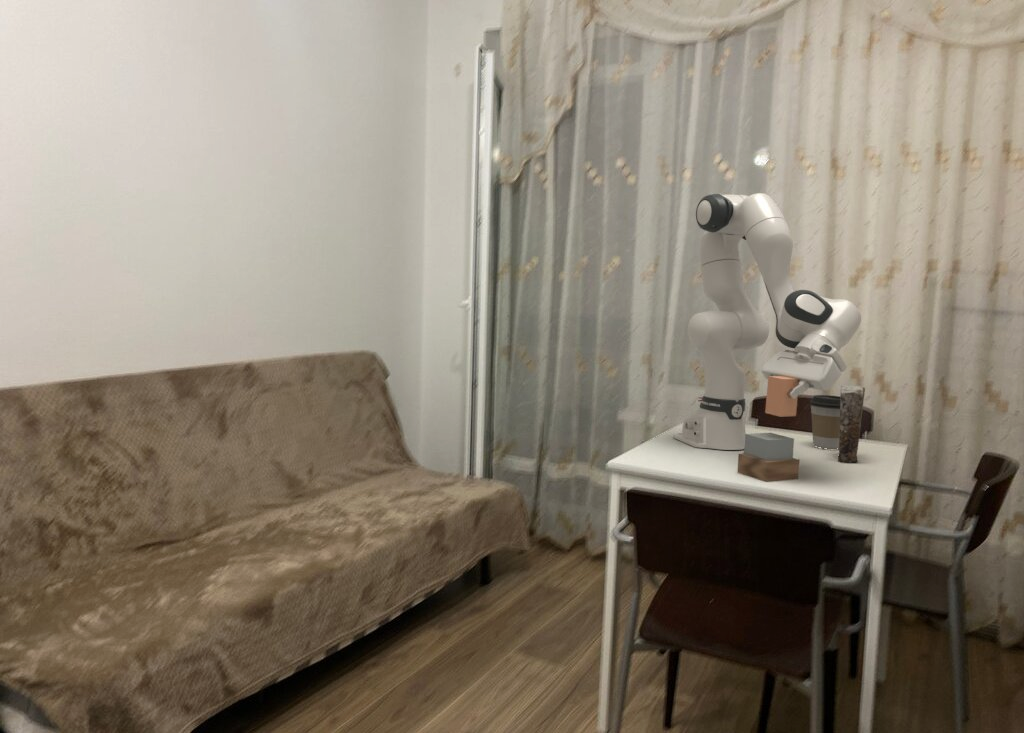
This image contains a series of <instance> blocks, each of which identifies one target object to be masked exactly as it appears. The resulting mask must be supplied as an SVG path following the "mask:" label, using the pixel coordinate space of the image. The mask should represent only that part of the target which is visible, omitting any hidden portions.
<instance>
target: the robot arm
mask: <svg viewBox="0 0 1024 733" xmlns="http://www.w3.org/2000/svg"><path fill="white" fill-rule="evenodd" d="M695 219H696V223H697V225H698V227H699V229H701V230H703V231H705V232H704V233H703V234H702V235H701V239H700V247H699V248H700V250H699V253H700V267H701V268H700V270H701V278H702V286H703V291H704V294H705V295H706V297H707V298H708V299H710V300H711V301H712V302H713V303H714V304H715V305H716V306H717V308H718V310H706V311H702V312H701V311H700V312H698V313H695V314H693V315H692V316H691V318H690V319H689V322H688V325H687V327H686V328H687V337H688V340H689V341H690V343H691V345H693V346H694V347H695V348H696V349H697V351H698V352H699V354H700V356H701V358H702V361H703V364H704V376H705V377H704V379H705V380H704V395H703V396H702V397H698V400H697V401H698V402H700V403H699V408H698V409H696V410H695V411H694V412H693V413H691V414H689V415H688V416H687V417H686V418H685V419H684V421H683V424H682V431H681V433H676V434H674V435H673V438H674V439H676V440H677V441H680V442H682V443H684V444H687V445H689V446H692V447H694V448H701V449H703V448H704V449H713V450H723V451H740V450H741V451H742V450H744V446H745V434H746V418H745V415H744V413H745V411H746V405H747V404H746V398H745V391H746V390H745V387H746V386H745V385H746V371H745V369H744V368H743V367H742V366H741V365H739V364H738V363H737V361H736V359H735V357H734V351H733V350H750V349H754V348H759V347H761V346H762V345H764V344H765V343H766V342H767V340H768V338H769V334H770V326H769V323H768V320H767V319H766V317H764V315H762V314H761V313H760V312H759V311H758V310H757V309H756V308H755V306H754V305H753V304H752V302H751V299H750V298H749V295H748V294H747V292H746V288H745V285H744V279H743V273H742V272H743V271H742V265H741V258H740V257H741V256H740V252H739V245H740V241H741V240H742V239H743V240H745V241H746V243H747V245H748V247H749V249H750V251H751V254H752V256H753V258H754V260H755V262H756V265H757V267H758V270H759V272H760V275H761V277H762V280H763V282H764V285H765V289H766V291H767V294H768V297H769V301H770V303H771V306H772V309H773V312H774V313H775V319H776V321H775V322H776V324H775V336H776V338H777V340H778V341H779V342H780V343H781V344H782V345H784V346H785V347H787V348H791V349H793V350H789V349H785V350H783V351H779V352H777V353H774V354H773V356H772V357H770V359H769V360H767V361H766V362H765V363H764V364H763V366H762V367H761V373H762V375H763V376H764V377H765V379H766V380H767V381H768V376H784V377H789V378H795V379H799V385H798V386H797V387H795V388H794V389H790V390H789V391H788V392H787V395H788V397H789V398H792V399H795V398H796V397H797V396H798V397H799V395H801V394H803V393H805V392H806V391H808V389H813V390H818V391H822V392H825V391H828V390H830V389H831V388H832V387H833V386H834V385H835V384H836V383H837V382H838V380H839V379H840V377H841V375H842V373H843V372H845V371H846V370H847V369H848V365H847V364H846V362H845V360H844V358H843V357H842V355H841V354H840V351H841V349H842V348H843V347H845V346H846V345H847V344H848V343H849V342H850V340H852V339H853V336H854V335H855V334H856V333H857V331H858V329H859V327H860V326H861V322H862V315H861V312H860V310H859V308H858V307H857V306H856V305H855V304H854V303H853V302H852V301H850V300H847V299H846V298H845V299H844V298H837V299H834V298H829V297H824V296H822V295H818V294H817V293H815V292H813V291H812V290H807V289H798V290H794V288H793V285H792V282H791V276H790V274H791V273H790V270H791V262H792V260H791V259H792V254H793V246H794V245H793V237H792V233H791V229H790V227H789V224H788V223H787V220H786V218H785V216H784V214H783V213H782V211H781V209H780V208H779V206H778V205H777V204H776V202H775V201H774V200H773V199H772V197H771V196H769V195H768V194H767V193H763V192H757V193H753V194H750V195H745V194H739V193H735V194H719V193H712V194H708V195H705V196H704V197H702V198H701V199H700V200H699V202H698V204H697V207H696V210H695Z"/></svg>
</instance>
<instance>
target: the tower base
mask: <svg viewBox="0 0 1024 733" xmlns="http://www.w3.org/2000/svg"><path fill="white" fill-rule="evenodd" d="M737 457H738V458H737V459H738V460H737V473H738V474H741V475H745V476H747V477H750V478H753V479H757V480H760V481H762V482H766V483H768V482H769V483H772V482H780V481H781V482H782V481H793V480H799V473H800V461H801V460H800V459H799V458H795V457H793V459H788V460H773V461H765V460H762V459H759V458H755V457H752V456H749V455H746V454H744V452H742V453H738V456H737Z"/></svg>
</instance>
